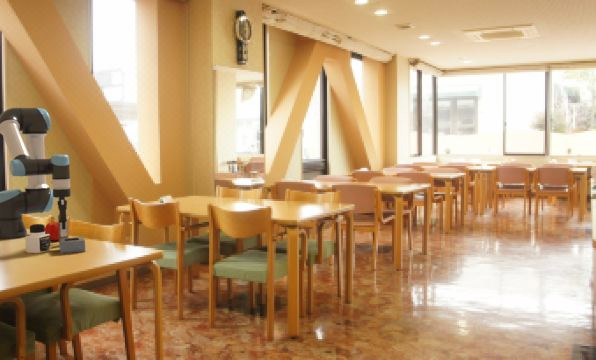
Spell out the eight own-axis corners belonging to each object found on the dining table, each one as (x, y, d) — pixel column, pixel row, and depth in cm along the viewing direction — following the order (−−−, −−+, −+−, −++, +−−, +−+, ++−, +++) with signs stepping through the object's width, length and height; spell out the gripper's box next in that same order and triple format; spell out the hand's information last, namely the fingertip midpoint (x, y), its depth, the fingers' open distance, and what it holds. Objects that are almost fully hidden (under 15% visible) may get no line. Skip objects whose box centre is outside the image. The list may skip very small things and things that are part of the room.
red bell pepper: (50, 238, 272) (49, 220, 272) (72, 238, 272) (71, 220, 271) (39, 242, 262) (39, 224, 261) (62, 242, 261) (61, 224, 261)
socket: (59, 249, 245) (59, 238, 244) (83, 247, 249) (83, 236, 248) (60, 254, 236) (59, 242, 235) (85, 251, 240) (84, 240, 239)
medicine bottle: (40, 253, 237) (39, 225, 236) (25, 252, 239) (24, 225, 238) (50, 250, 244) (49, 223, 243) (36, 249, 246) (35, 222, 245)
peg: (59, 244, 256) (57, 214, 254) (68, 244, 257) (67, 214, 256) (59, 246, 252) (58, 216, 251) (68, 245, 254) (67, 215, 252)
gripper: (52, 186, 262) (54, 230, 264) (52, 191, 239) (55, 239, 241) (69, 185, 265) (71, 229, 267) (71, 190, 243) (73, 237, 244)
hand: (63, 234), depth 254 cm, fingers open, 13 cm apart
